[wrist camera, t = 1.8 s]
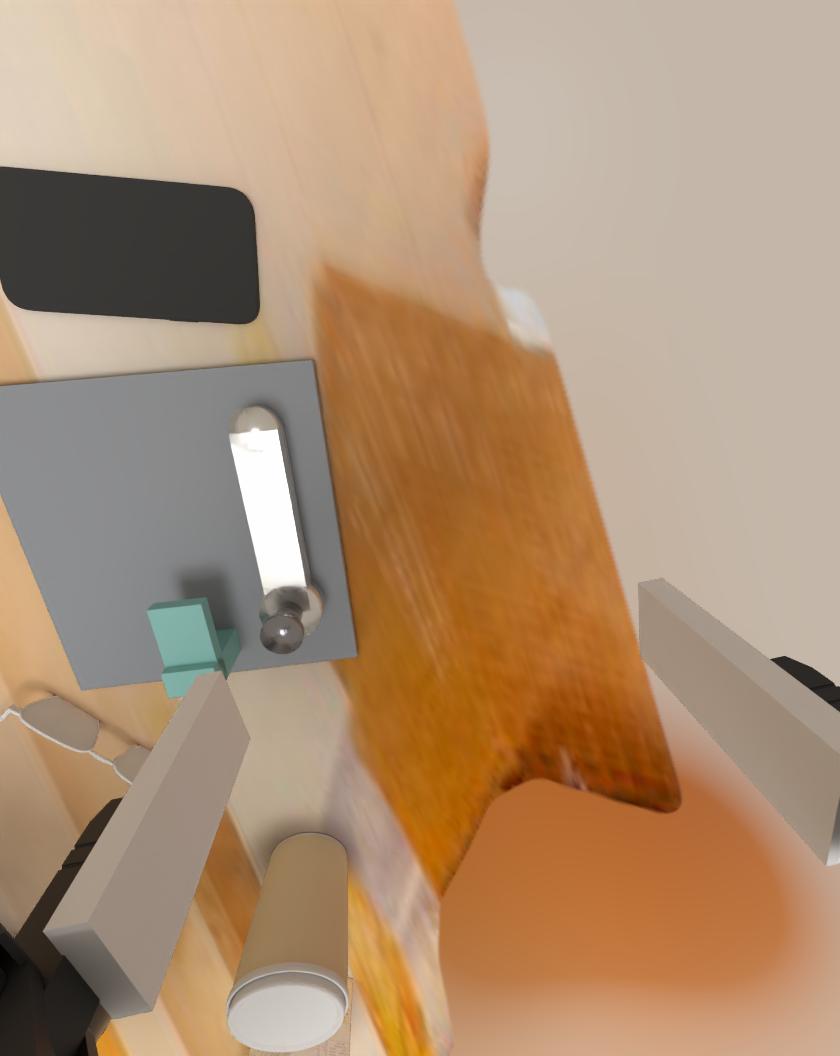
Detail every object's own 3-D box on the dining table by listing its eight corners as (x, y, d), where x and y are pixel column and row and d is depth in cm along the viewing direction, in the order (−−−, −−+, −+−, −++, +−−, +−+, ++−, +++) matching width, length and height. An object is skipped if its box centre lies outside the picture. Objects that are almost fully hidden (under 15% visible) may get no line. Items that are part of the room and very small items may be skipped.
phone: (-27, 162, 25) (250, 187, 26) (-15, 168, 26) (254, 193, 27) (6, 309, 27) (259, 325, 29) (16, 311, 28) (262, 326, 29)
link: (328, 621, 35) (320, 660, 30) (271, 628, 35) (254, 668, 30) (290, 402, 30) (273, 408, 25) (222, 408, 29) (192, 415, 25)
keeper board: (88, 682, 37) (35, 739, 31) (-30, 389, 29) (-129, 393, 23) (357, 650, 38) (354, 699, 32) (314, 360, 30) (299, 357, 24)
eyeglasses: (198, 771, 41) (180, 811, 37) (82, 877, 44) (55, 924, 40) (42, 676, 37) (3, 711, 33) (-75, 801, 40) (-123, 846, 36)
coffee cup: (248, 879, 46) (205, 1045, 34) (282, 815, 43) (247, 973, 32) (334, 898, 48) (320, 1062, 36) (370, 839, 45) (367, 994, 34)
